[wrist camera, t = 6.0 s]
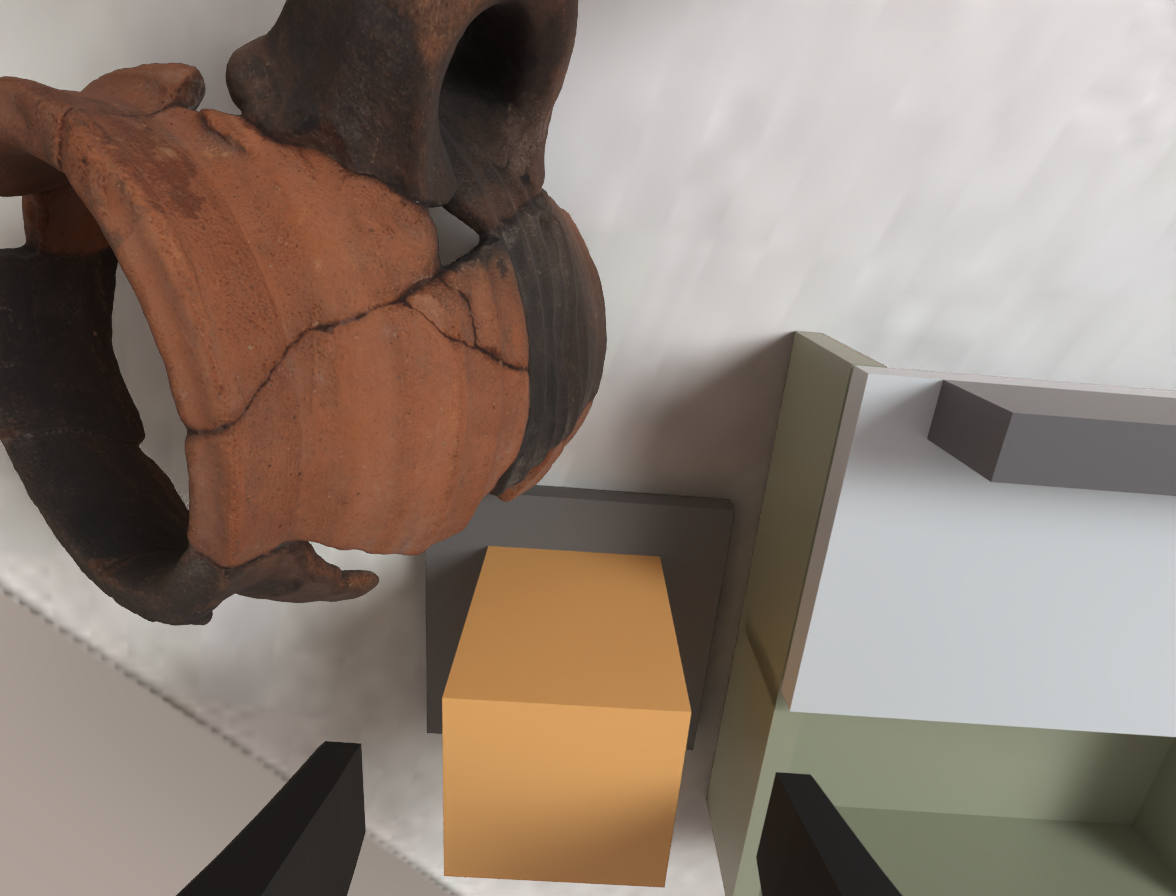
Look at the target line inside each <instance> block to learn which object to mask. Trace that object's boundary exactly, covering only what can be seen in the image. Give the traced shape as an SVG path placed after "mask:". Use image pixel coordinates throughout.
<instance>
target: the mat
mask: <svg viewBox="0 0 1176 896" xmlns="http://www.w3.org/2000/svg"><path fill="white" fill-rule="evenodd" d="M733 516H734V509H733V507H732V505H731V502H730V500H727V499H714V498H700V497H687V496H673V495H660V494H647V493H633V492H620V491H606V490H593V489H579V488H566V487H553V486H539V485H534V486H533V487H532V488H530V489H529V490H527V491H526V492H524V493H522V494H521V495H519V496H518V497H516V498H515V499H513V500H511V501H508V502H505V501H502V500H500V499H499V498H498V497H497V496H495V495H492V494H490V493H488V494H487V495H486V496H485V497H484V498H483V499H482V501H481V502H480V504H479V505H478V507H477V509H476V511H475V513H474V515H473V517H472V518H471V520H470V521H469V522H468V524H467V526H466V528H465V529H464V530H463V531H461V532H459V533H457V534H455V535H453V536H451V537H449V538H447V539H446V540H443V541H441V542H438V543H436V544H433V545H432V546H430V547H429V548H428V549H427V550H426V649H427V733H438V734H443V724H442V697H443V694H444V690H445V687H446V684H447V680H448V677H449V674H450V671H451V667H452V664H453V661H454V657H455V654H456V651H457V648H458V644H459V641H460V638H461V635H462V631H463V628H464V625H465V621H466V618H467V615H468V612H469V608H470V605H471V602H472V598H473V595H474V592H475V589H476V585H477V582H478V579H479V575H480V572H481V569H482V566H483V562H484V559H485V556H486V552H487V549H488V546H499V547H515V548H531V549H547V550H563V551H579V552H595V553H611V554H627V555H643V556H659V557H660V559H661V564H662V569H663V574H664V579H665V584H666V589H667V594H668V599H669V604H670V609H671V614H672V619H673V623H674V628H675V633H676V638H677V643H678V648H679V653H680V658H681V663H682V668H683V673H684V678H685V683H686V688H687V693H688V698H689V703H690V707H691V718H690V725H689V731H688V738H687V744H686V750H693V746H694V741H695V735H696V729H697V723H698V718H699V712H700V706H701V700H702V695H703V689H704V683H705V677H706V672H707V666H708V660H709V654H710V649H711V643H712V637H713V631H714V626H715V620H716V614H717V608H718V603H719V597H720V591H721V585H722V580H723V574H724V568H725V562H726V557H727V551H728V545H729V539H730V534H731V528H732V522H733Z"/></svg>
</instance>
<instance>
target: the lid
mask: <svg viewBox="0 0 1176 896" xmlns="http://www.w3.org/2000/svg"><path fill="white" fill-rule="evenodd" d="M781 691H782V693H783V696H784V698H785V701H786V703H787V706H788V708H789V711H791V712H806V713H821V714H836V715H851V716H866V717H881V718H896V719H911V720H926V721H941V722H956V723H971V724H986V725H1001V726H1016V727H1031V728H1046V729H1061V730H1076V731H1091V732H1106V733H1121V734H1136V735H1151V736H1166V737H1176V391H1171V390H1158V389H1146V388H1133V387H1121V386H1108V385H1096V384H1083V383H1071V382H1058V381H1046V380H1033V379H1021V378H1008V377H996V376H983V375H971V374H958V373H946V372H933V371H921V370H908V369H896V368H883V367H871V366H858V365H854V368H853V372H852V377H851V381H850V385H849V390H848V394H847V399H846V403H845V408H844V412H843V417H842V421H841V425H840V430H839V434H838V439H837V443H836V448H835V452H834V457H833V461H832V466H831V470H830V474H829V479H828V483H827V488H826V492H825V497H824V501H823V506H822V510H821V514H820V519H819V523H818V528H817V532H816V537H815V541H814V546H813V550H812V555H811V559H810V563H809V568H808V572H807V577H806V581H805V586H804V590H803V595H802V599H801V603H800V608H799V612H798V617H797V621H796V626H795V630H794V635H793V639H792V644H791V648H790V652H789V657H788V661H787V666H786V670H785V675H784V679H783V684H782V688H781Z"/></svg>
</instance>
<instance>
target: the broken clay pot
mask: <svg viewBox="0 0 1176 896" xmlns="http://www.w3.org/2000/svg"><path fill="white" fill-rule="evenodd" d="M577 17H578V0H287V1H286V3H285V5H284V7H283V9H282V12H281V14H280V16H279V18H278V20H277V22H276V23H275V25H274V26H273V27H272V29H271V30H270V31H269V32H268V33H267V34H266V35H264V36H261V37H259V38H257V39H255V40H253V41H251V42H249V43H247V44H245V45H244V46H242V47H240V48H239V49H237V50H236V51H235V52H233V54H232V56H231V57H230V60H229V62H228V64H227V69H226V83H227V87H228V90H229V93H230V96H231V99H232V101H233V102H234V104H235V105H236V106H237V107H238V108H239V109H240V110H241V111H242V115H231V114H226V113H223V112H220V111H217V110H213V109H202V110H201V111H200V112H199V111H195V110H196V109H197V107H198V106H199V104H200V103H201V101H202V99H203V97H204V95H205V84H204V80H203V77H202V75H201V73H200V71H199V70H198V69H197V68H196V67H193V66H189V65H186V64H182V63H168V64H159V63H153V64H142V65H140V66H137V67H133V68H123V69H118V70H115V71H113V72H111V73H108V74H105V75H103V76H101V77H99V78H98V79H96V80H94V81H92V82H91V83H90V84H89V85H88V86H86V87H85V88H84V89H83V90H82V91H81V92H77V91H69V90H58V89H55V88H52V87H49V86H46V85H44V84H41V83H38V82H35V81H32V80H27V79H21V78H17V77H8V76H4V77H0V196H2V197H12V196H22V211H23V220H24V229H25V235H26V243H25V245H23V246H22V247H19V248H6V249H0V440H1V442H2V443H3V445H4V446H5V448H6V451H7V453H8V455H9V457H10V459H11V461H12V463H13V466H14V468H15V470H16V471H17V473H18V475H19V476H20V478H21V480H22V482H23V484H24V486H25V488H26V491H27V493H28V495H29V497H30V499H31V500H32V501H33V503H34V504H35V505H36V506H37V507H38V509H39V511H40V513H41V514H42V515H43V517H44V519H45V521H46V523H47V524H48V525H49V527H50V528H51V530H52V532H53V533H54V535H55V536H56V538H57V539H58V541H59V542H60V543H61V545H62V546H63V547H64V548H65V549H66V551H67V552H68V553H69V554H70V556H71V557H72V558H73V559H74V561H75V562H76V564H77V565H78V566H79V567H80V569H81V571H82V572H83V573H85V574H86V576H87V577H88V578H89V579H90V580H92V581H93V582H94V583H95V584H96V585H97V586H98V587H99V588H100V589H101V590H102V591H103V592H104V593H105V594H107V595H108V596H110V597H113V599H114V600H115V601H116V603H118V604H119V605H121V606H122V607H125V608H126V609H128V610H130V611H131V612H133V613H135V614H138V615H139V616H141V617H142V618H144V619H146V620H148V621H151V622H155V621H157V622H161V623H164V624H170V625H190V624H193V625H205V624H208V623H209V622H210V620H211V618H212V615H213V613H212V610H214V609H215V608H216V607H217V606H218V605H219V604H220V603H221V602H222V601H223V600H225V599H226V598H228V597H230V596H231V595H233V594H235V593H236V594H238V595H242V596H247V597H252V598H257V599H269V600H274V601H281V602H292V603H307V602H314V601H329V602H336V601H342V600H347V599H354V598H357V597H360V596H362V595H364V594H366V593H367V592H369V591H370V590H372V589H373V588H374V587H375V586H376V585H377V584H378V582H379V577H378V576H377V575H376V574H374V573H373V572H371V571H365V570H344V571H341V570H340V568H339V567H337V566H335V565H333V564H329V563H328V562H326V561H325V560H323V559H322V558H321V557H320V556H319V555H318V554H317V553H316V552H315V550H314V548H313V546H312V545H311V544H310V543H309V542H308V541H311V542H317V543H320V544H323V545H325V546H328V547H333V548H336V549H338V550H351V549H357V550H362V551H364V552H366V553H370V554H384V555H385V554H401V555H419V554H421V553H423V552H424V551H425V550H427V549H428V548H429V547H430V546H432V545H433V544H436V543H438V542H441V541H443V540H446V539H447V538H449V537H451V536H453V535H455V534H457V533H459V532H461V531H463V530H464V529H465V528H466V526H467V524H468V522H469V521H470V520H471V518H472V517H473V515H474V513H475V511H476V509H477V507H478V505H479V504H480V502H481V501H482V499H483V498H484V497H485V496H486V495H487V494H488V493H490V494H492V495H495V496H497V497H498V498H499V499H500V500H502V501H505V502H508V501H511V500H513V499H515V498H516V497H518V496H519V495H521V494H522V493H524V492H526V491H527V490H529V489H530V488H532V487H533V486H534V485H536V484H537V483H538V482H539V481H540V480H541V479H542V478H543V476H544V475H545V474H546V473H547V472H548V470H549V469H550V468H551V466H552V464H553V463H554V462H555V460H556V459H557V458H558V457H559V455H560V454H561V453H562V451H563V448H564V447H565V446H566V444H567V443H568V442H569V441H570V440H571V439H572V438H573V436H574V435H575V434H576V432H577V431H578V429H579V428H580V426H581V425H582V423H583V422H584V420H585V418H586V416H587V414H588V411H589V409H590V408H591V405H592V402H593V399H594V397H595V395H596V394H597V392H598V389H599V385H600V381H601V377H602V373H603V365H604V359H605V353H606V343H607V336H606V316H605V303H604V297H603V291H602V286H601V281H600V278H599V275H598V272H597V269H596V266H595V264H594V262H593V260H592V258H591V257H590V254H589V251H588V249H587V247H586V244H585V242H584V240H583V238H582V236H581V234H580V232H579V230H578V228H577V227H576V225H575V223H574V222H573V220H572V218H571V217H570V215H569V214H568V213H567V212H566V211H565V210H564V209H561V208H560V207H559V206H558V205H557V204H556V203H555V201H554V200H553V199H552V198H551V197H550V196H548V194H547V192H546V191H545V190H544V189H543V188H542V185H543V183H544V178H545V169H544V151H545V143H546V138H547V134H548V126H549V123H550V120H551V114H552V110H553V106H554V104H555V101H556V100H557V97H558V95H559V93H560V91H561V89H562V86H563V82H564V78H565V75H566V72H567V69H568V65H569V62H570V58H571V55H572V51H573V47H574V42H575V36H576V28H577ZM439 206H442V207H443V208H444V209H446V210H447V211H448V212H449V213H451V214H452V215H454V216H455V217H457V218H458V219H459V220H461V221H462V222H464V223H465V224H466V225H468V226H469V227H470V228H471V229H473V230H474V231H475V232H476V233H477V234H478V235H479V236H480V241H479V244H478V245H477V246H476V247H474V248H473V249H472V250H471V251H470V252H469V253H467V254H465V255H464V256H462V257H460V258H458V259H457V260H456V261H455V262H453V263H451V264H450V265H447V266H442V264H441V262H440V258H439V254H438V250H439V243H438V233H437V228H436V226H435V224H434V222H433V220H432V219H431V217H430V214H429V211H428V208H430V207H439ZM118 262H119V264H120V266H121V268H122V270H123V271H124V273H125V275H126V277H127V279H128V281H129V282H130V284H131V286H132V288H133V290H134V292H135V294H136V296H137V298H138V301H139V303H140V305H141V307H142V310H143V313H144V315H145V317H146V319H147V321H148V324H149V326H150V329H151V331H152V334H153V337H154V340H155V343H156V345H157V348H158V350H159V352H160V354H161V356H162V358H163V360H164V364H165V367H166V370H167V374H168V379H169V384H170V389H171V392H172V395H173V398H174V401H175V404H176V408H177V412H178V414H179V416H180V419H181V421H182V422H183V423H184V425H185V426H186V428H187V437H186V440H185V455H186V460H187V467H188V474H189V500H190V502H189V510H188V509H187V508H186V506H185V504H184V503H183V501H182V499H181V497H180V496H179V495H178V493H177V492H176V490H175V488H174V485H173V484H172V482H171V480H170V479H169V477H168V476H167V475H166V474H165V473H164V472H163V471H162V470H161V469H160V467H159V466H158V465H157V464H156V463H155V462H154V461H153V460H152V459H150V458H149V457H148V456H146V455H145V454H144V453H143V452H142V451H141V449H140V448H139V444H140V443H141V442H142V441H143V440H144V438H145V432H144V428H143V423H142V421H141V419H140V415H139V412H138V410H137V408H136V406H135V404H134V402H133V400H132V398H131V396H130V394H129V392H128V389H127V387H126V385H125V382H124V380H123V378H122V375H121V373H120V370H119V366H118V362H117V359H116V357H115V354H114V351H113V346H112V311H113V300H114V291H115V286H116V276H115V274H116V269H117V264H118Z"/></svg>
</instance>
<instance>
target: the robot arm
mask: <svg viewBox="0 0 1176 896" xmlns="http://www.w3.org/2000/svg"><path fill="white" fill-rule="evenodd" d="M364 835H365V812H364V792H363V772H362V753H361V744H357V743H343V742H328V741H325V742H324V743H323V744H322V745H320V746H319V747H318V748H317V749H316V751H315V752H314V753H313V754H312V755H311V756H310V757H309V759H308V760H307V761H306V762H305V763H304V764H303V765H302V766H301V768H300V769H299V770H298V771H297V772H296V773H295V774H294V775H293V776H292V778H291V779H290V780H289V781H288V782H287V783H286V784H285V785H284V786H283V788H282V789H281V790H280V791H279V792H278V793H277V794H276V795H275V796H274V797H273V798H272V799H271V801H270V802H269V803H268V804H267V805H266V806H265V807H264V808H263V809H262V810H261V811H260V813H259V814H258V815H257V816H256V817H255V818H254V819H253V820H252V821H251V822H250V823H249V824H248V825H247V826H246V827H245V828H244V829H243V830H242V831H241V832H240V833H239V834H238V835H237V836H236V837H235V838H234V839H233V840H232V842H230V844H229V845H228V846H227V847H226V848H225V849H224V850H223V851H222V852H221V853H220V854H219V855H218V856H217V857H216V858H215V859H214V860H213V861H212V862H211V863H210V864H209V865H208V866H206V867H205V868H204V869H203V870H202V871H201V872H200V873H199V874H198V875H197V876H196V877H195V878H194V879H193V880H192V881H191V882H190V883H189V884H188V885H187V886H186V887H185V888H184V889H182V890H181V891H180V892H179V893H178V894H177V895H176V896H347V893H348V890H349V886H350V883H351V880H352V877H353V874H354V870H355V867H356V863H357V860H358V856H359V853H360V849H361V846H362V842H363V839H364ZM756 860H757V866H758V873H759V879H760V885H761V891H762V896H902V894H901V893H900V892H899V891H898V889H897V888H896V887H895V886H894V884H893V883H892V882H891V881H890V879H889V878H888V877H887V875H886V874H885V873H884V872H883V870H882V869H881V868H880V867H879V865H878V864H877V863H876V861H875V860H874V859H873V857H872V856H871V855H870V853H869V852H868V851H867V850H866V848H865V847H864V846H863V844H862V843H861V842H860V840H859V839H858V837H857V836H856V835H855V833H854V832H853V831H852V829H851V828H850V827H849V825H848V824H847V823H846V821H845V820H844V819H843V817H842V816H841V815H840V813H839V812H838V810H837V809H836V808H835V806H834V805H833V804H832V802H831V801H830V799H829V798H828V797H827V795H826V794H825V793H824V791H823V790H822V789H821V787H820V786H819V784H818V783H817V782H816V780H815V779H814V778H813V777H812V776H811V774H796V773H781V772H776V774H775V778H774V782H773V787H772V791H771V795H770V800H769V804H768V808H767V813H766V817H765V821H764V825H763V830H762V834H761V838H760V843H759V847H758V851H757V856H756Z"/></svg>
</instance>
